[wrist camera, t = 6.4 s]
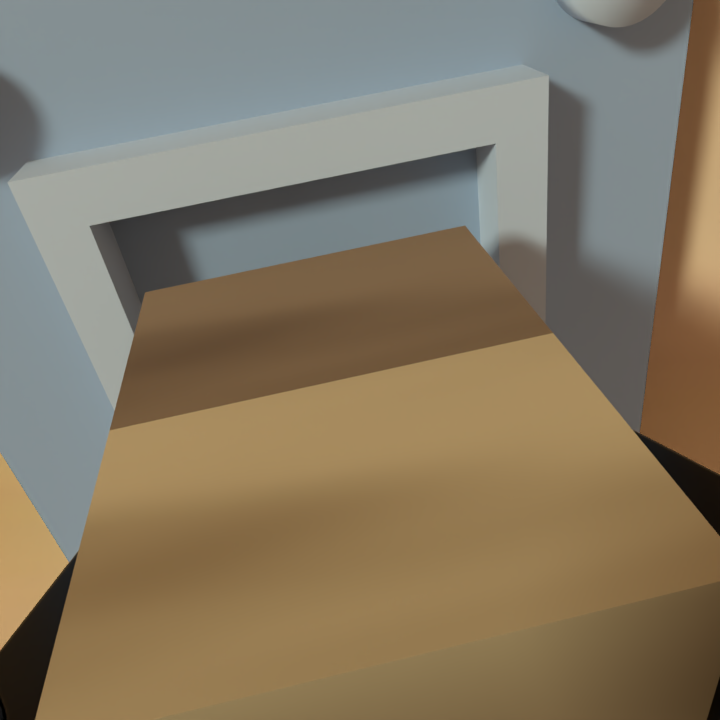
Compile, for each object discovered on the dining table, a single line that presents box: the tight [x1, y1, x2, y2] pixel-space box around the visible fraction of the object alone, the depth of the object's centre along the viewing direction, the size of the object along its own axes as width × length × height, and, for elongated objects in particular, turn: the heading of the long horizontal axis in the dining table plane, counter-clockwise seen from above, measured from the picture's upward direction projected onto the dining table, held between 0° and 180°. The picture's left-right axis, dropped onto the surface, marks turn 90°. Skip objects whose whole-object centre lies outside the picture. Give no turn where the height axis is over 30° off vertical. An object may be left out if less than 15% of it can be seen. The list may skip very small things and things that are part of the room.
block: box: [35, 226, 720, 720], centre depth 8 cm, size 4×4×6 cm
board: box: [0, 0, 693, 562], centre depth 12 cm, size 13×13×2 cm
